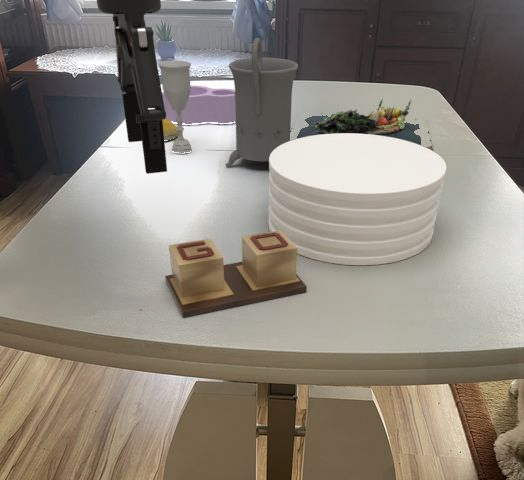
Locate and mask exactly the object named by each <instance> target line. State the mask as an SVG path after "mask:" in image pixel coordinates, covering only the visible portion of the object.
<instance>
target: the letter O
mask: <svg viewBox="0 0 524 480" xmlns="http://www.w3.org/2000/svg"><path fill="white" fill-rule="evenodd" d="M241 257H242V258H241V259H242V261H241V262H242V264H243V269H244V270H245V271H246V273H247V274H248V275H249V277H250V278H251V280H252V281H253V282H254V284H255V285H256V287H260V286H265V285H270V284H275V283H280V282H285V281H290V280H295V279H296V274H297V263H298V254H297V247H296V246H295V245H294V244H293V243H292V242H291V241H290V240H289V238H288V237H287V236H286V235H285V234H284V233H283V232H282V231H281V230H277V231H271V232H270V231H266V232H261V233H255V234H254V233H253V234H249V235H243V236H241Z"/></svg>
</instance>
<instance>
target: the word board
mask: <svg viewBox="0 0 524 480" xmlns="http://www.w3.org/2000/svg"><path fill="white" fill-rule="evenodd" d="M223 268H224V290H220V291H214V292H209V293H204V294H199V295H194V296H188V297H183V298H182V296H181V294H180V292H179V289H178V287H177V285H176V283H175V281H174V279H173V277H172V274H167V275H165V276H164V278H165V284H166V285H167V288H168V289H169V292H170V294H171V296H172V298H173V299H174V301H175V304H176V306H177V308H178V310H179V312H180V314H181V316H182V318H183V319H184V318H189V317H193V316H199V315H203V314H204V315H205V314H208V313H213V312H217V311H222V310H227V309H231V308H236V307H241V306H246V305H251V304H255V303H256V304H257V303H262V302H267V301H269V300H275V299H280V298H284V297H285V298H286V297H289V296H294V295H295V296H296V295H298V294H299V295H300V294H303V293H307V287H308V286H307V285H306V283H305V282H304V281H303V280H302V279H301V278H300V277H299V276H298V274H297V273H296V279H295V280H290V281H285V282H280V283H275V284H270V285H265V286H260V287H256V285H255V284H254V282H253V281H252V280H251V278H250V277H249V275H248V274H247V273H246V271H245V270H244V269H243V264H242V261H239V262H232V263H228V264H227V263H226V264H223Z"/></svg>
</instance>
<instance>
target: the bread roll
mask: <svg viewBox="0 0 524 480" xmlns="http://www.w3.org/2000/svg"><path fill="white" fill-rule="evenodd" d="M177 127H178V125H175V124H173V123H172V122H171V121H170V120H168V119H163V131H164V140H170V139H173V138H175V139H177V138H178V136H179V133H178V130H177V129H176V128H177ZM176 137H177V138H176ZM173 140H174V139H173ZM170 141H171V140H170Z"/></svg>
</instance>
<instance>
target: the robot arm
mask: <svg viewBox="0 0 524 480" xmlns="http://www.w3.org/2000/svg"><path fill="white" fill-rule="evenodd" d="M161 1H162V0H96V6H97V8H98V10H99V11H100V12H101V13H104V14H108V15H112V21H113V26H114V31H113V33H114V34H113V35H114V37H115V50H116V52H115V53H116V64H117V65H116V66H117V83H118V84H119V86H120V91H121V93H122V94H121V97H122V103H123V111H124V119H125V127H126V134H127V135H126V136H127V141H128V143H136V142H141V143H142V144H141V145H142V152H143V153H142V154H143V162H144V171H145V173H146V174H147V175H149V174H159V173H165V172H166V173H167V172H168V166H167V164H168V163H167V154H166V143H165V142H166V141H164V131H163V119H166V111H165V108H164V102H163V96H162V92H163V89H162V86H161V85H162V84H161V80H160V79H161V78H160V73H159V66H158V63H157V61H158V60H157V55H156V50H155V40H154V30H153V28H152V27H151V26H146V21H145V15H146V14H155V13H158V12H160V10H161V8H162V2H161Z"/></svg>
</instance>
